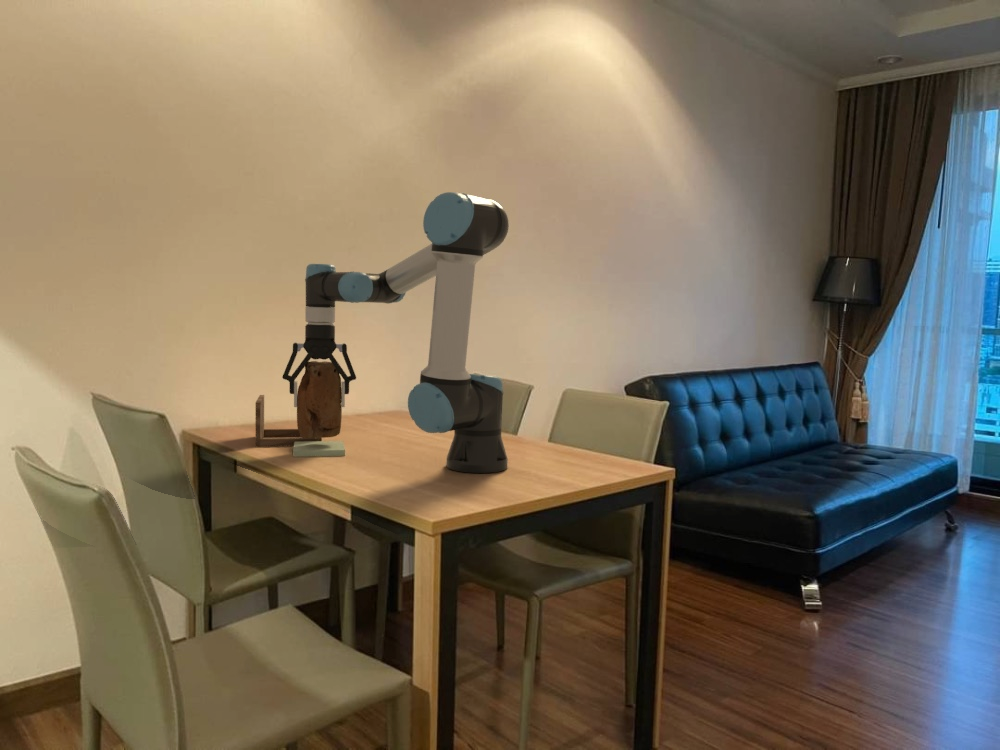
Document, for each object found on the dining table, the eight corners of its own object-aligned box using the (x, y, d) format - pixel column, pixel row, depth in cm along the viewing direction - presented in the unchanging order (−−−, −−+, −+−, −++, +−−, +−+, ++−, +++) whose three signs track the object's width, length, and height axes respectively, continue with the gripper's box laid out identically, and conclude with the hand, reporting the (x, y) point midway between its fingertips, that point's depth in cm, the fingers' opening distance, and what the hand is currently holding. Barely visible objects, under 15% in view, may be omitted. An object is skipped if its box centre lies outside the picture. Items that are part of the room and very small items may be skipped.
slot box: (321, 445, 214) (322, 402, 212) (255, 446, 210) (255, 402, 208) (321, 435, 230) (321, 395, 228) (259, 436, 225) (259, 395, 224)
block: (327, 433, 212) (328, 360, 210) (344, 436, 207) (345, 362, 205) (293, 437, 204) (293, 361, 202) (309, 441, 199) (310, 363, 197)
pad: (345, 455, 201) (345, 450, 201) (293, 456, 198) (293, 450, 198) (343, 446, 214) (343, 441, 214) (294, 447, 211) (294, 441, 211)
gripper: (365, 324, 209) (364, 404, 211) (273, 322, 204) (273, 404, 206) (367, 325, 202) (366, 408, 204) (271, 323, 196) (271, 408, 198)
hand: (319, 406), depth 205 cm, fingers closed on block, 11 cm apart
